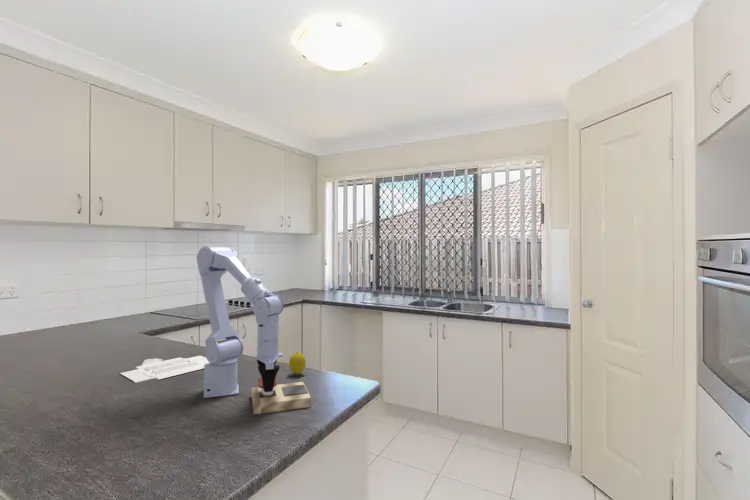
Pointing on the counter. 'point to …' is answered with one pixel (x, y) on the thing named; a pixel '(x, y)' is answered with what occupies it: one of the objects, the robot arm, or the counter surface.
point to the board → (281, 398)
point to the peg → (260, 385)
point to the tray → (165, 368)
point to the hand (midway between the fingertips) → (267, 387)
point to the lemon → (297, 363)
